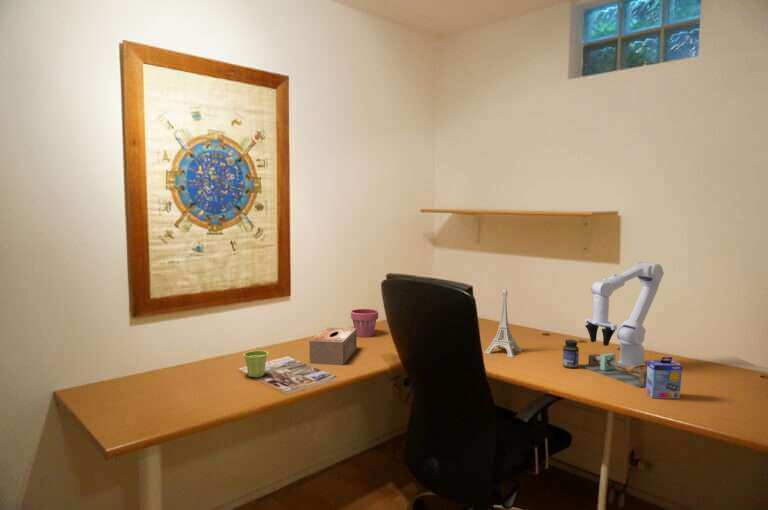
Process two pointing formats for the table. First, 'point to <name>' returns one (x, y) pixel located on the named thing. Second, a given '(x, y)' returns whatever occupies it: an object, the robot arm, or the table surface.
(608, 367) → the collar
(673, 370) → the ink cartridge box
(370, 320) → the plant pot
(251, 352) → the plant pot
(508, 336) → the eiffel tower
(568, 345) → the pill bottle
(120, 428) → the table surface
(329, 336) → the tissue box cover
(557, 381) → the table surface
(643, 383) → the rail stand
